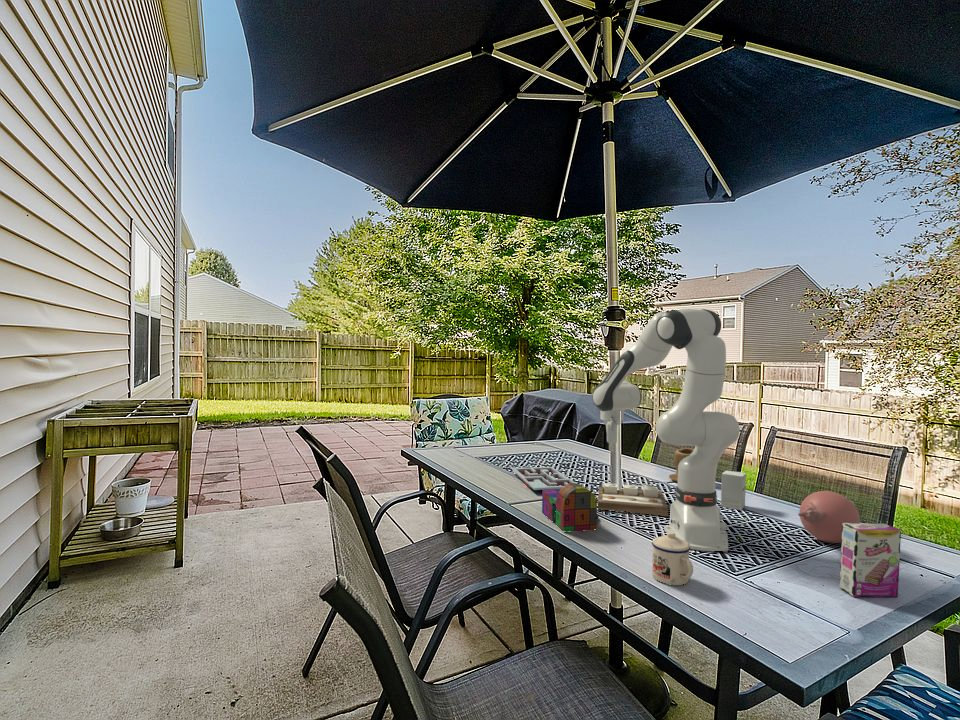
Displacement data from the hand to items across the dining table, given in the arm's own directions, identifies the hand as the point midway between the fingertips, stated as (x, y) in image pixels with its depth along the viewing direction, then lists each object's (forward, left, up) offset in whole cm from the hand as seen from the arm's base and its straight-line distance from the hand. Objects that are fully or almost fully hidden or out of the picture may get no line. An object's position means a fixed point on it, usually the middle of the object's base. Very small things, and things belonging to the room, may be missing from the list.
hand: (611, 450), depth 197 cm
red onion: (-28, -63, -19) cm, 72 cm away
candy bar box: (-63, -60, -19) cm, 89 cm away
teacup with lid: (-69, -15, -19) cm, 73 cm away
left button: (0, 0, -17) cm, 17 cm away
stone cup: (+38, -34, -19) cm, 55 cm away
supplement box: (+4, -45, -19) cm, 49 cm away
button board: (-5, -7, -19) cm, 21 cm away
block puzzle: (-27, +13, -20) cm, 36 cm away
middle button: (0, -7, -17) cm, 18 cm away
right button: (0, -15, -17) cm, 22 cm away
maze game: (+17, +28, -20) cm, 38 cm away
